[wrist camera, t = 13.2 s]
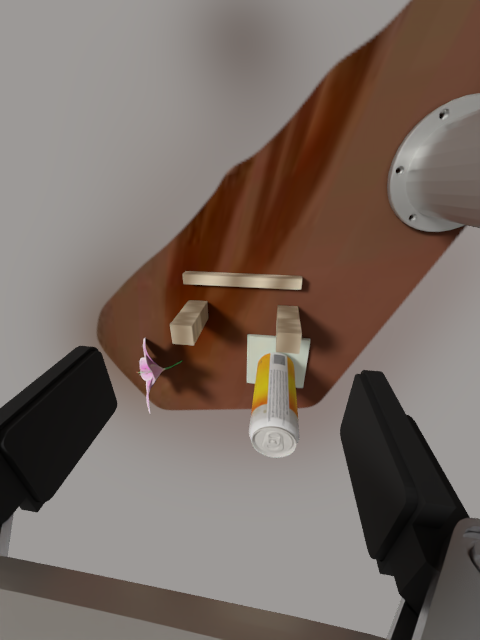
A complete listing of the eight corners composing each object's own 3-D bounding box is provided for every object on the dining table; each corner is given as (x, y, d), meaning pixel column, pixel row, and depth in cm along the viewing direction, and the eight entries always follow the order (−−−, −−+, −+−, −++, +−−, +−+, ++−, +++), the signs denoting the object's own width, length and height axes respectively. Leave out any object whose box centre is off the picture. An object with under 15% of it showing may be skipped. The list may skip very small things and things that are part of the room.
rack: (301, 276, 36) (306, 298, 29) (295, 323, 39) (299, 353, 32) (185, 271, 38) (164, 290, 31) (190, 316, 41) (172, 343, 34)
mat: (310, 338, 40) (310, 340, 40) (302, 385, 45) (303, 388, 44) (247, 334, 41) (247, 335, 41) (247, 380, 46) (246, 382, 46)
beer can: (257, 376, 45) (247, 456, 32) (258, 347, 42) (248, 422, 29) (291, 379, 44) (296, 462, 31) (295, 351, 41) (302, 429, 28)
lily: (168, 314, 43) (114, 337, 36) (209, 369, 42) (161, 404, 35) (151, 344, 52) (104, 368, 45) (184, 391, 50) (141, 423, 43)
